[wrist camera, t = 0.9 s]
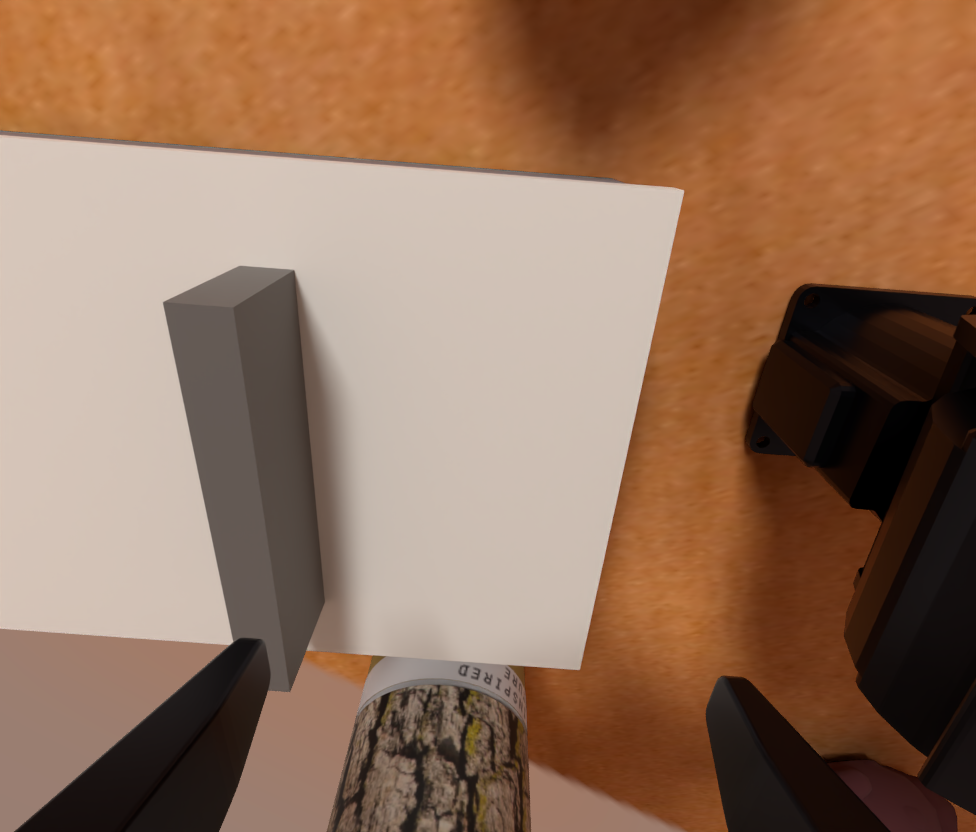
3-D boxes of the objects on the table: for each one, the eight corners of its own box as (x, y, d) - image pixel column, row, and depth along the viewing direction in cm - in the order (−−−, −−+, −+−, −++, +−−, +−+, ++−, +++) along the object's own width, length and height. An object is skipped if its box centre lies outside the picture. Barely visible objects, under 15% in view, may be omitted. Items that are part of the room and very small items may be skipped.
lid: (673, 187, 12) (742, 206, 8) (576, 649, 18) (593, 765, 15) (-281, 113, 12) (-606, 102, 8) (-32, 605, 18) (-156, 712, 15)
